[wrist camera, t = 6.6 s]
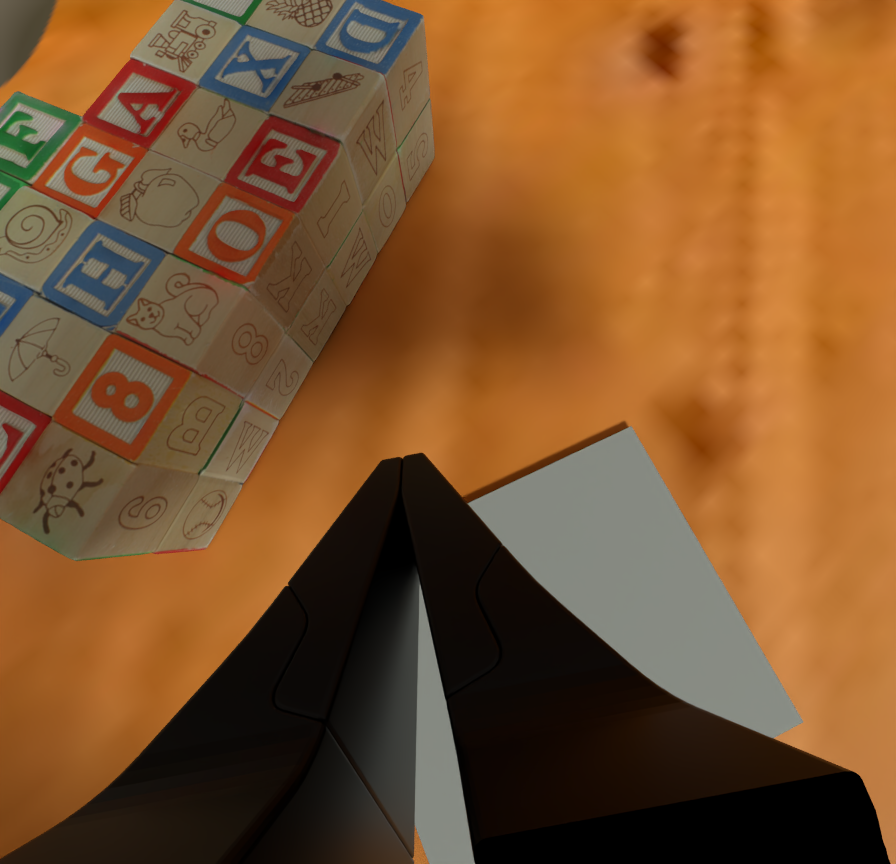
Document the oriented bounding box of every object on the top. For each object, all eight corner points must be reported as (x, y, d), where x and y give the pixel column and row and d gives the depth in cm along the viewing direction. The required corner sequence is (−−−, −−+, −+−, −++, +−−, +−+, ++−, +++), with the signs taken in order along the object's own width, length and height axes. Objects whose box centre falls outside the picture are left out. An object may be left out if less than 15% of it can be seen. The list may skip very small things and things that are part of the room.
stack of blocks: (439, 160, 21) (237, 80, 23) (430, 11, 15) (154, -83, 17) (204, 553, 17) (-19, 425, 19) (63, 569, 11) (-250, 377, 13)
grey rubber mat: (796, 718, 15) (803, 722, 15) (447, 904, 14) (447, 911, 14) (628, 427, 18) (631, 426, 17) (323, 571, 17) (321, 572, 17)
